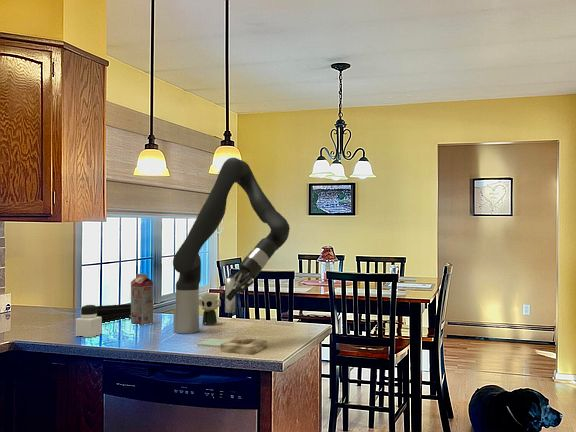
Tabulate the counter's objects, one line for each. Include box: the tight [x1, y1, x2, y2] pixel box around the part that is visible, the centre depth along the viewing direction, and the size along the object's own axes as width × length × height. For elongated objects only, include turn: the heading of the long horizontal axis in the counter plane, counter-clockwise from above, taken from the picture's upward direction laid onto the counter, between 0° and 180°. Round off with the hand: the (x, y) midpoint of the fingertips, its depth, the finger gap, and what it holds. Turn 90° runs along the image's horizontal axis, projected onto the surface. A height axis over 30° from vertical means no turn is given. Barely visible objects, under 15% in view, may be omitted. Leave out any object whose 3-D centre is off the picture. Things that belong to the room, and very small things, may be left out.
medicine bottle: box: [75, 304, 103, 338], centre depth 228 cm, size 7×7×12 cm
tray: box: [96, 303, 131, 323], centre depth 267 cm, size 30×23×5 cm
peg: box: [224, 277, 236, 314], centre depth 207 cm, size 4×4×12 cm
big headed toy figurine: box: [199, 293, 222, 325], centre depth 252 cm, size 11×7×13 cm, turn 66°
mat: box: [196, 338, 231, 348], centre depth 212 cm, size 10×10×1 cm
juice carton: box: [130, 273, 154, 325], centre depth 253 cm, size 7×7×22 cm
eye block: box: [220, 337, 268, 355], centre depth 202 cm, size 12×12×2 cm
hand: (225, 298), depth 205 cm, fingers closed on peg, 3 cm apart
